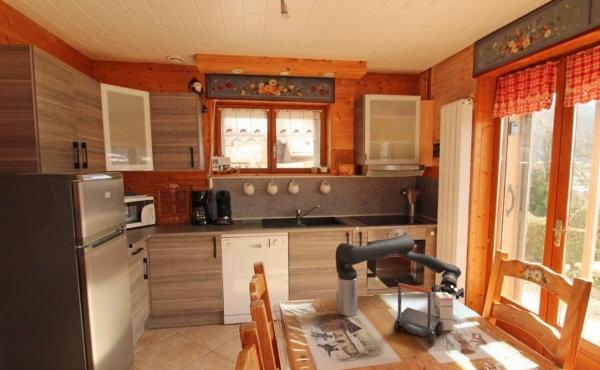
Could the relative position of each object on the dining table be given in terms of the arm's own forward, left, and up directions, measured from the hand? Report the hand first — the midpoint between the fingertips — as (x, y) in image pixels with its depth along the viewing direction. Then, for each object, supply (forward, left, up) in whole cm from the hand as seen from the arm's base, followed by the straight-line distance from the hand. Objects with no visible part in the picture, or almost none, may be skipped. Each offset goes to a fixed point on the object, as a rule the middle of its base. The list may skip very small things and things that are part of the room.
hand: (446, 295), depth 138 cm
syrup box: (+2, -11, -10) cm, 15 cm away
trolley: (-5, -22, -10) cm, 25 cm away
